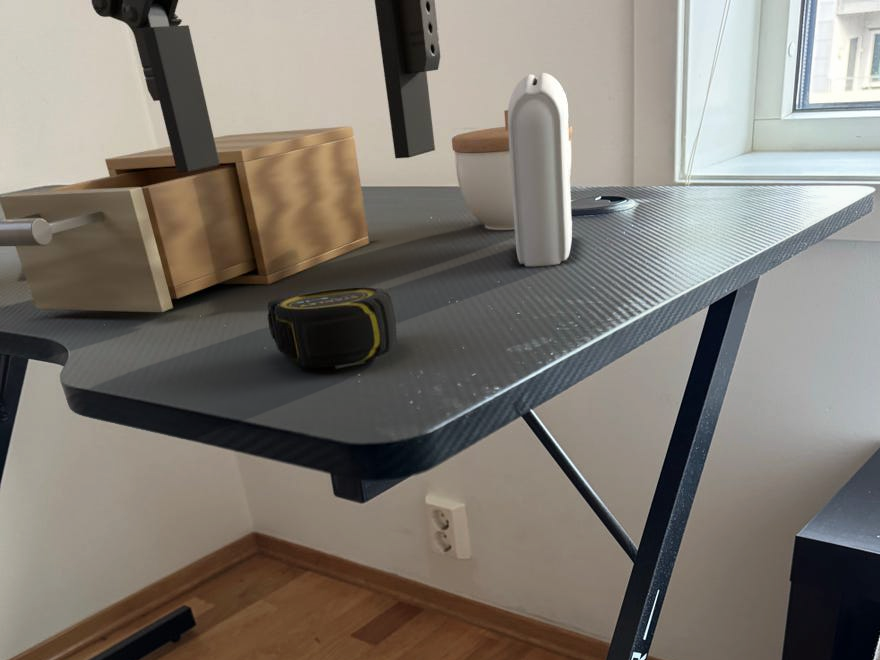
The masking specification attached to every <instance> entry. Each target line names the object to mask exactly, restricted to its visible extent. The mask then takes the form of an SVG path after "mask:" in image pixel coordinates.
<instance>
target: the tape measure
mask: <svg viewBox="0 0 880 660" xmlns="http://www.w3.org/2000/svg"><path fill="white" fill-rule="evenodd" d="M267 311H268V314H267V322H268V327H269V332H270V335H271V338H272V339H273V340H274V343H275V346H276V348H277V350H278V351H279V352H280V353H281V354H282V357H283V359H284V360H285V361H286V362H287V363H289V364H290V365H294V366H297V367H302V368H330V367H334V368H335V370H336V369H342V368H347V367H352V366H358V365H363V364H366V361H369V360H371V359H375V358H379V357H380V356H383V355H385V354H386V353H388V352H390V351H391V350H392V349H393V348H394V347H395V344H396V342H397V322H396V314H395V308H394V305H393V300H392V297H391V295H390V293H389V292H388V291H387V290H386V289H384V288H380V287H366V286H365V287H364V286H359V287H358V286H356V287H354V286H353V287H341V288H331V289H323V290H319V291H318V290H317V291H313V292H309V293H304V294H299V295H294V296H288V297H281V298H276V299H273V300H269V301H268V303H267Z"/></svg>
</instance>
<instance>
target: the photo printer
mask: <svg viewBox="0 0 880 660" xmlns="http://www.w3.org/2000/svg"><path fill="white" fill-rule="evenodd" d="M537 76H538V77H536V76H535V75H534V74H531V73H530V74H527V75H526V76H524V77H523V78H522V79H521V80H519V82H518V83H517V85H516V86H515V87H514V90H513V91H512V93H511V96H510V99H509V102H508V109H507V110H508V133H509V149H510V165H511V181H512V197H513V213H514V227H515V229H514V239H515V250H516V256H517V260H518V262H519V264H520V265H524V266H525V267H530V268H531V267H535V268H536V267H538V268H539V267H550V266H556V265H559V264H561V262H564V261H567V260H568V258H569V256H570V253H571V248H572V241H573V240H572V239H573V219H572V198H571V196H572V195H571V174H570V165H569V130H568V125H569V117H570V116H569V105H568V104H569V103H568V99H567V95H566V92H565V90H564V88H563V87H562V85H561V83H560V82H559V81H558V80H557V78H555V77H554V76H553V75H551V74H550V73H547V72H541V73H540V74H539V75H537Z"/></svg>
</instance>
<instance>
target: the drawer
mask: <svg viewBox="0 0 880 660" xmlns="http://www.w3.org/2000/svg"><path fill="white" fill-rule="evenodd" d="M0 206H1V209H2V212H3V214H4V217H5V218H0V247H15V249H16V252H17V255H18V259H19V261H20V265H21V268H22V270H23V273H24V276H25V279H26V281H27V285H28V288H29V291H30V293H31V295H32V296H31V297H32V299H33V303H34V305H35V309H37V310H46V311H47V310H48V311H49V310H50V311H51V310H54V311H86V312H87V311H89V312H127V313H128V312H131V313H133V312H136V313H164V312H167V311H169V310H171V309H173V308H174V306H173V302H172V300H177V299H180V298H183V297H186V296H188V295H191V294H194V293H197V292H199V291H202V290H204V289H208V288H209V287H212V286H215V285H217V284H218V283H220V282H223V281H226V280H228V279H231V278H234V277H236V276H239V275H241V274H244V273H247V272H249V271H252V270H255V269H257V263H256V258H255V253H254V249H253V244H252V239H251V234H250V230H249V225H248V220H247V215H246V211H245V206H244V201H243V196H242V192H241V187H240V182H239V177H238V173H237V168H236V163H230V164H220V165H217V166H213V167H208V168H204V169H200V170H195V171H191V172H182V173H177V170H176V167H161V168H146V169H141V170H137V171H132V172H127V173H123V174H118V175H113V176H110V175H109V176H105V177H100V178H96V179H95V178H94V179H91V180H86V181H82V182H76V183H73V184H72V183H71V184H67V185H62V186H58V187H52V188H48V189H43V190H40V191H39V190H38V191H28V192H27V191H26V192H10V193H4V194H0Z"/></svg>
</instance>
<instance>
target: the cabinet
mask: <svg viewBox="0 0 880 660" xmlns="http://www.w3.org/2000/svg"><path fill="white" fill-rule="evenodd" d="M214 141H215V145H216V150H217V154H218V159H219V163H220V164H230V163H236V168H237V173H238V177H239V182H240V187H241V192H242V196H243V201H244V206H245V211H246V215H247V220H248V225H249V230H250V234H251V239H252V244H253V249H254V253H255V258H256V263H257V269H255V270H252V271H249V272H247V273H244V274H241V275H239V276H236V277H234V278H231V279H228V280H226V281H223V282H220V283H218V284H219V285H221V284H223V285H224V284H227V285H228V284H231V285H233V284H234V285H269V284H272V283H275V282H277V281H280V280H282V279H284V278H287V277H290V276H292V275H294V274H296V273H299V272H302V271H305V270H307V269H309V268H311V267H314V266H316V265H320V264H321V263H325V262H327V261H329V260H331V259H333V258H334V259H335V258H336V257H338V256H341V255H343V254H347V253H349V252H351V251H354V250H356V249H359V248H360V247H363V246H366V245H368V244H370V239H369V230H368V225H367V224H368V223H367V218H366V217H367V216H366V211H365V204H364V197H363V189H362V182H361V176H360V170H359V164H358V163H359V162H358V156H357V149H356V143H355V135H354V128H353V126H352V125H349V126H336V127H323V128H322V127H321V128H309V129H307V128H306V129H296V130H295V129H294V130H282V131H281V130H280V131H267V132H253V133H240V134H238V133H237V134H227V135H221V136H217V137H214ZM104 162H105V165H106V169H107V171H108V175H109V176H113V175H118V174H123V173H127V172H132V171H137V170H141V169H146V168H161V167H176V166H175V162H174V158H173V154H172V150H171V146H170V145H169V146H166V147H165V146H164V147H160V148H155V149H150V150H145V151H140V152H134V153H129V154H123V155H119V156H114V157H108V158H105V159H104Z"/></svg>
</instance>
